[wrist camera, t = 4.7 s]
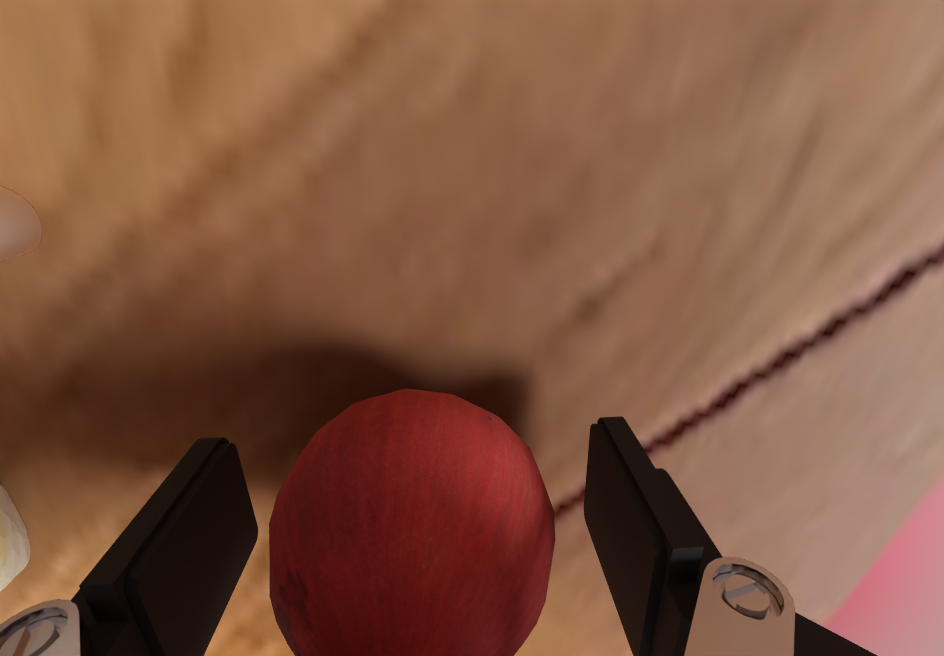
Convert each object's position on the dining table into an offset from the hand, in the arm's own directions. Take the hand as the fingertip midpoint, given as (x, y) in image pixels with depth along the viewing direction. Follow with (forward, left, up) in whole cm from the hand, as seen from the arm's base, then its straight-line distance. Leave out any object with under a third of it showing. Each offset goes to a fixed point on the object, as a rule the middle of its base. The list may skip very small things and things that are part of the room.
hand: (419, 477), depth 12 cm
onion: (0, 0, -2) cm, 2 cm away
